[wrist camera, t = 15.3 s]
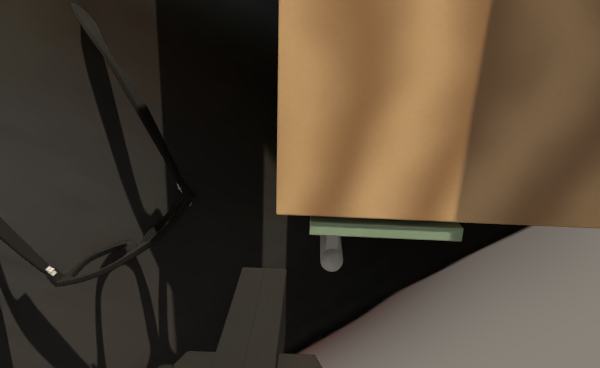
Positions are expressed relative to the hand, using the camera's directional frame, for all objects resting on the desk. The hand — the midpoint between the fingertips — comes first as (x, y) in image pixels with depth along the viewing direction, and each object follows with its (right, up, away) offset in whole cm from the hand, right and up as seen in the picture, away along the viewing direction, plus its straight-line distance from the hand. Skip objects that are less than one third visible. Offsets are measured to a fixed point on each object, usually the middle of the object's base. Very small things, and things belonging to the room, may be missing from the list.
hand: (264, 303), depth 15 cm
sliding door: (+6, +3, +20) cm, 21 cm away
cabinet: (+10, +11, +18) cm, 23 cm away
